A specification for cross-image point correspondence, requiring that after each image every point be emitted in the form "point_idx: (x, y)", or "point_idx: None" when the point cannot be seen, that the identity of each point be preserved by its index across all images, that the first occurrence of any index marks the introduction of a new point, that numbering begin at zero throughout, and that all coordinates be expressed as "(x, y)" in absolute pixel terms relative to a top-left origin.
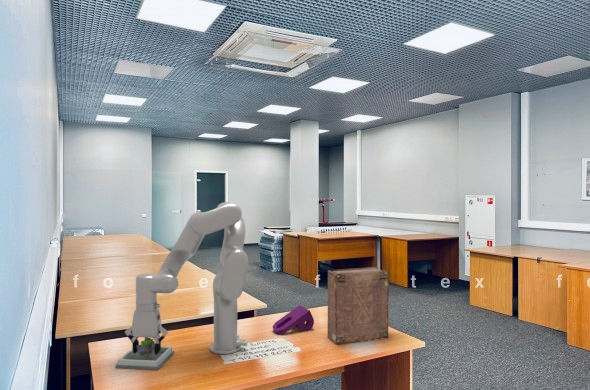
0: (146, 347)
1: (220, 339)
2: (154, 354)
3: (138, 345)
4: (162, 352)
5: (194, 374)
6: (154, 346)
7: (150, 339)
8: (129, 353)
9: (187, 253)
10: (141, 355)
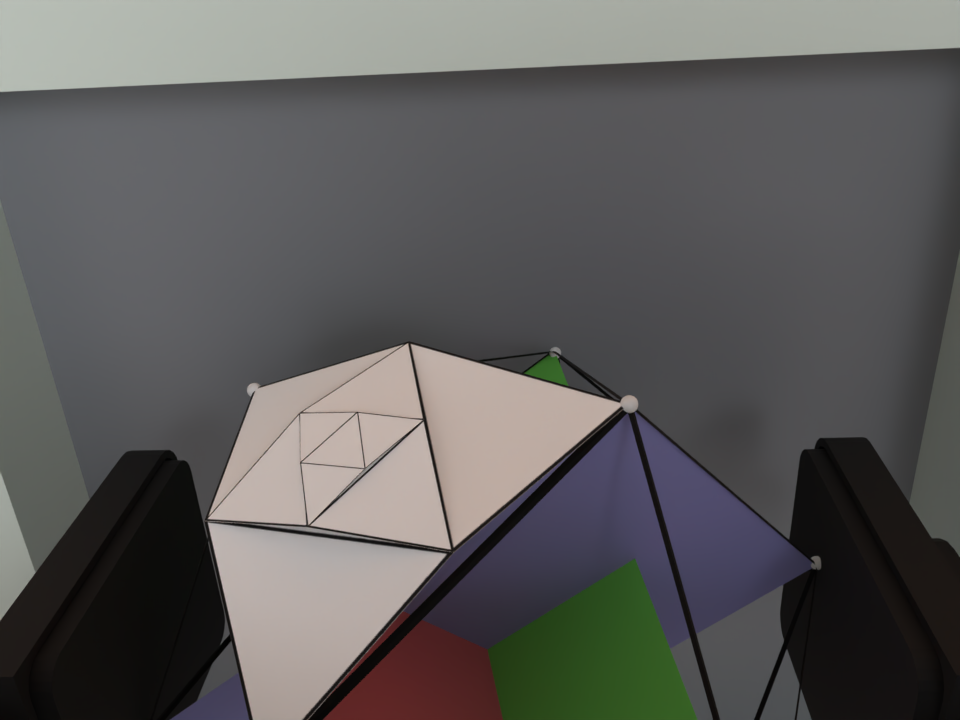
0: (488, 651)
1: None
2: (606, 247)
3: (207, 711)
4: (792, 71)
5: None
6: (714, 534)
7: (458, 492)
8: (35, 533)
9: None
10: (292, 350)
